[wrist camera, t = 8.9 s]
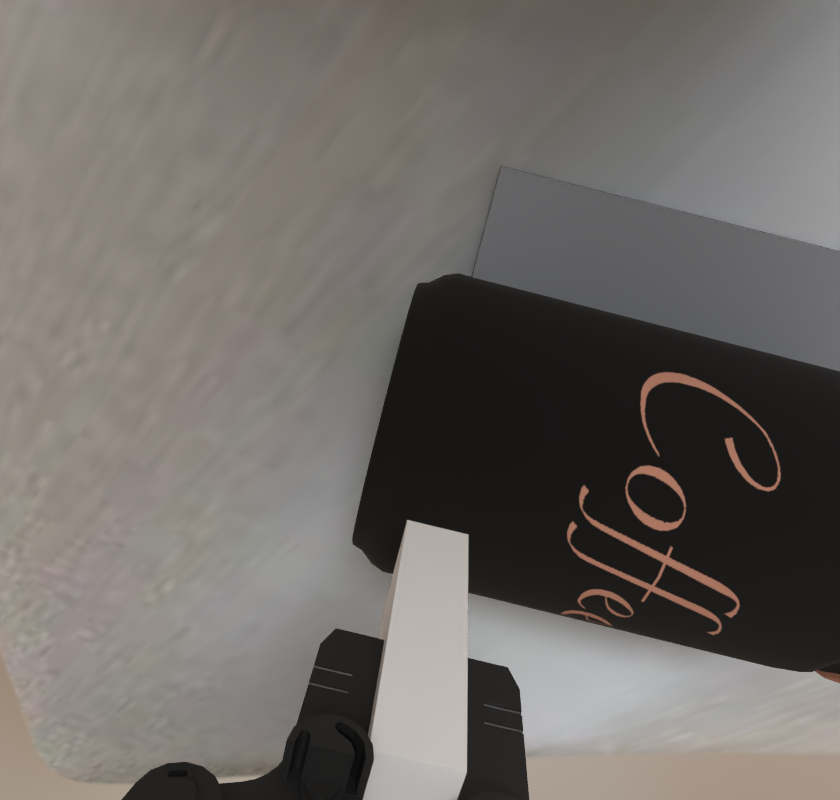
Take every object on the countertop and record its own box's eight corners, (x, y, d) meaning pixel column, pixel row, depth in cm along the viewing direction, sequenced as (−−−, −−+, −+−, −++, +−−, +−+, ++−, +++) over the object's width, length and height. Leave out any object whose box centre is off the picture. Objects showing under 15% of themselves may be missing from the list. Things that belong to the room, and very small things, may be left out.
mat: (400, 548, 33) (399, 556, 33) (500, 166, 27) (501, 166, 26) (837, 653, 34) (843, 662, 33) (1041, 302, 27) (1053, 305, 27)
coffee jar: (418, 261, 18) (1063, 427, 19) (424, 266, 29) (837, 372, 29) (329, 622, 20) (916, 765, 21) (365, 503, 31) (754, 600, 31)
